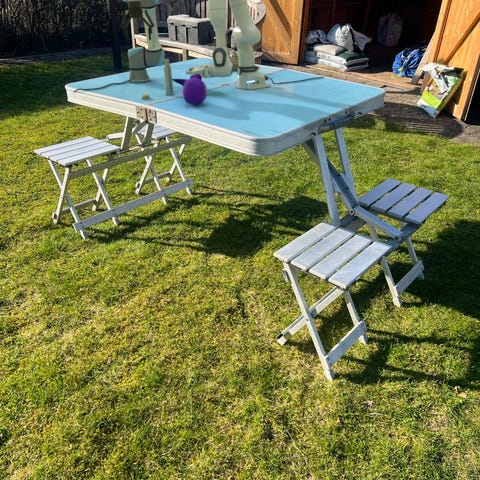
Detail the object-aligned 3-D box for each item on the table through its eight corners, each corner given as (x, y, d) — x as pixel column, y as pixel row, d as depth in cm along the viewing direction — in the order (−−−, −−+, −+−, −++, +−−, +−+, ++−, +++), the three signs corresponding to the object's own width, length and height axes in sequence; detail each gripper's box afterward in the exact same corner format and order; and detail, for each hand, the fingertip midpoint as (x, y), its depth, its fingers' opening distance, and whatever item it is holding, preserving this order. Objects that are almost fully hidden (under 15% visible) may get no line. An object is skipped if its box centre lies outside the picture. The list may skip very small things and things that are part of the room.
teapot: (227, 73, 361) (227, 53, 353) (221, 70, 369) (220, 51, 362) (250, 70, 370) (250, 50, 362) (243, 68, 378) (242, 49, 371)
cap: (142, 98, 291) (142, 94, 290) (149, 97, 292) (148, 94, 291) (142, 99, 288) (142, 95, 286) (149, 99, 288) (149, 95, 287)
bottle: (174, 93, 300) (171, 59, 289) (172, 95, 296) (169, 60, 285) (167, 93, 301) (164, 58, 290) (165, 95, 297) (161, 60, 286)
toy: (196, 96, 291) (207, 111, 270) (169, 91, 283) (179, 106, 263) (201, 71, 283) (213, 84, 262) (173, 66, 275) (184, 79, 255)
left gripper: (111, 1, 258) (117, 41, 269) (154, 0, 258) (158, 40, 269) (114, 0, 264) (119, 39, 275) (156, -1, 265) (160, 38, 276)
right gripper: (210, 62, 296) (189, 63, 298) (205, 68, 279) (183, 69, 280) (211, 72, 300) (190, 72, 301) (206, 79, 282) (185, 79, 284)
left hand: (138, 40), depth 272 cm, fingers open, 13 cm apart
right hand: (187, 71), depth 290 cm, fingers open, 8 cm apart
